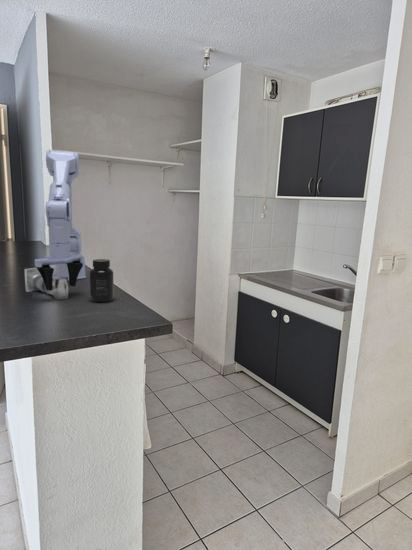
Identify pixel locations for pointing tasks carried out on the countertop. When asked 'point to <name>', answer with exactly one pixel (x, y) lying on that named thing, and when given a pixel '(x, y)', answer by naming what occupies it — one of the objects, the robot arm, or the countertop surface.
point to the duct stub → (34, 280)
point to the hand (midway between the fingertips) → (61, 287)
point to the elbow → (59, 288)
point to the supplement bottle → (101, 281)
